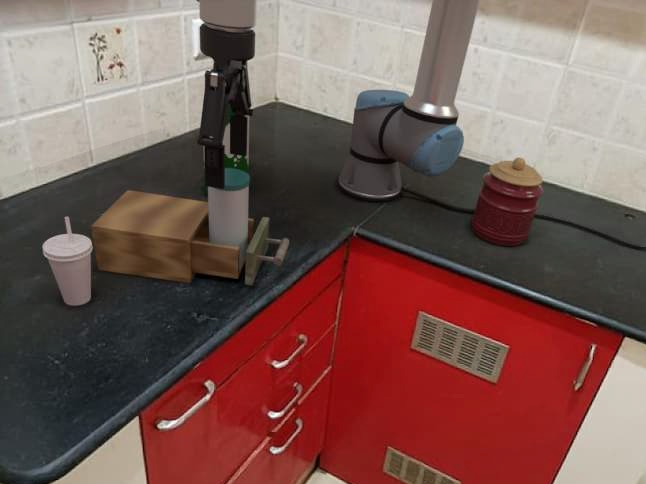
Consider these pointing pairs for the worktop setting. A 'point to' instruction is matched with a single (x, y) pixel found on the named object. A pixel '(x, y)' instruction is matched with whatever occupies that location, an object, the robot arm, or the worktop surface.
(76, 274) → the smoothie
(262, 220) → the drawer
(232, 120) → the robot arm
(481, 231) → the kitchen canister
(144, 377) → the worktop surface
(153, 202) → the cabinet
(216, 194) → the container
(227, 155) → the milk carton
